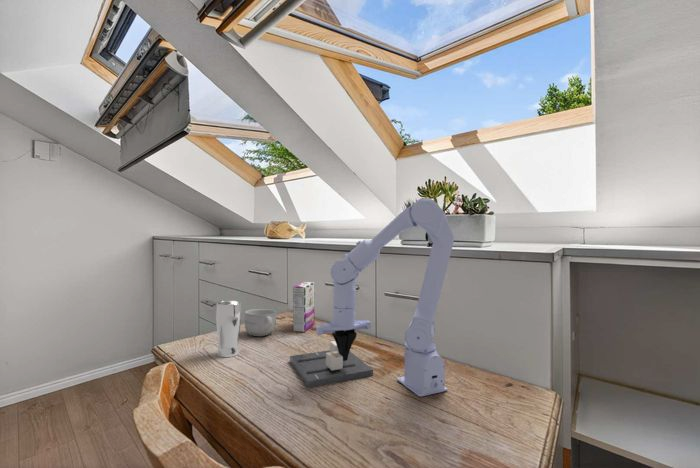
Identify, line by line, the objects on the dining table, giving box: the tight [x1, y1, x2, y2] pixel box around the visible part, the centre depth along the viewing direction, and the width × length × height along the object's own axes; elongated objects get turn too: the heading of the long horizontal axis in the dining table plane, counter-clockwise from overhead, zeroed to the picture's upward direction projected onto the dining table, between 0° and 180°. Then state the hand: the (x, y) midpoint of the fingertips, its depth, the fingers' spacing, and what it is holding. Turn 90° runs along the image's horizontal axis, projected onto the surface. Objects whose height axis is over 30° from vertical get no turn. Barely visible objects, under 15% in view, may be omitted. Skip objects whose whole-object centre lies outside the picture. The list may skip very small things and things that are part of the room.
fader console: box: [289, 349, 374, 389], centre depth 89 cm, size 17×17×2 cm
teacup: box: [244, 308, 278, 337], centre depth 116 cm, size 14×11×8 cm
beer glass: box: [215, 299, 242, 358], centre depth 98 cm, size 7×7×15 cm
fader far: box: [329, 339, 339, 353], centre depth 94 cm, size 4×3×3 cm
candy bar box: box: [292, 281, 315, 333], centre depth 125 cm, size 11×5×16 cm, turn 168°
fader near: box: [326, 351, 343, 370], centre depth 85 cm, size 4×3×3 cm
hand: (343, 359), depth 86 cm, fingers closed
